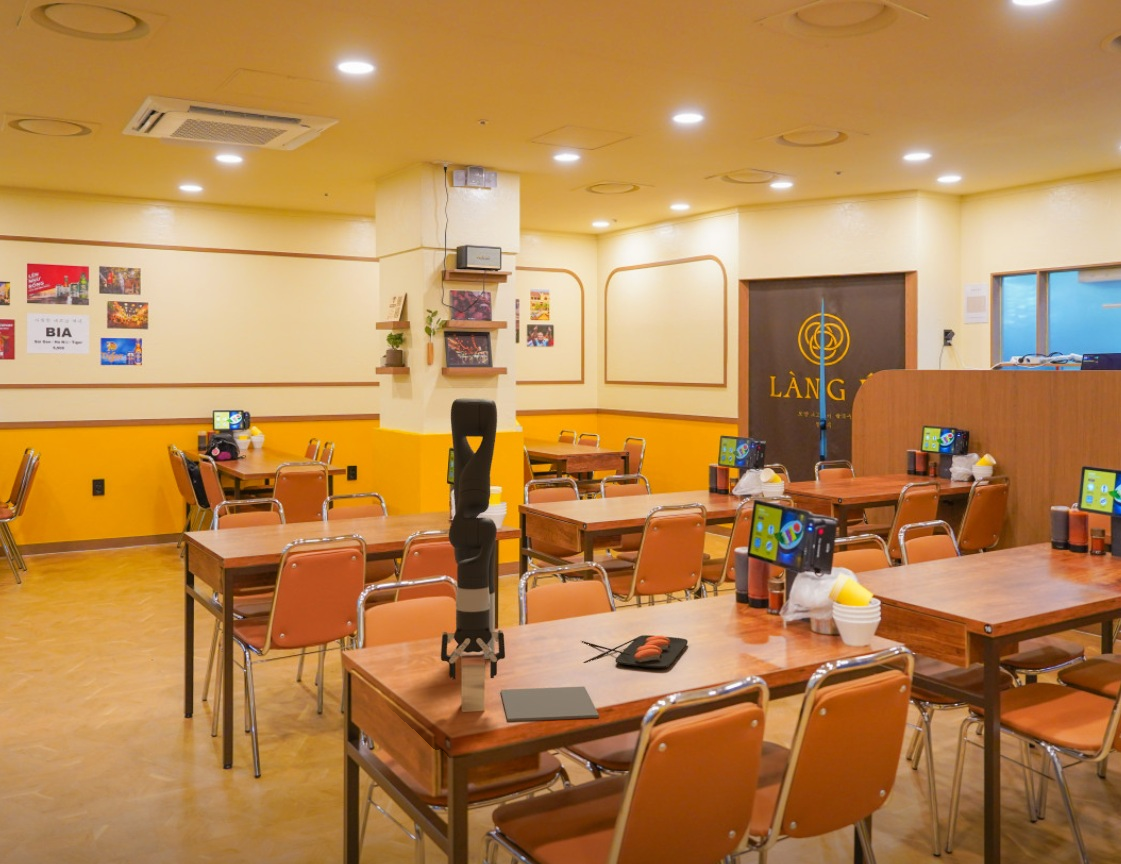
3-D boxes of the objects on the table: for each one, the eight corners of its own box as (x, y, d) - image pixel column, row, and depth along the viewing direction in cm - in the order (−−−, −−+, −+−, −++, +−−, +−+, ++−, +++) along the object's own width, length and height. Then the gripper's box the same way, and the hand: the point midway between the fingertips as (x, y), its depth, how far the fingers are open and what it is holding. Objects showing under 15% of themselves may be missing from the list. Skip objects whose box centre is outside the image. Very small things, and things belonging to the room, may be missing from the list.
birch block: (461, 704, 222) (461, 652, 221) (483, 703, 223) (483, 651, 222) (462, 711, 217) (462, 658, 216) (484, 710, 218) (484, 657, 217)
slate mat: (500, 692, 231) (500, 689, 231) (584, 688, 233) (584, 686, 233) (507, 721, 211) (507, 718, 211) (598, 717, 213) (598, 714, 213)
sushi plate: (667, 674, 247) (667, 659, 246) (555, 663, 256) (555, 648, 256) (690, 645, 274) (690, 632, 274) (588, 636, 284) (588, 623, 284)
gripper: (503, 602, 223) (503, 672, 224) (440, 603, 221) (440, 674, 222) (506, 609, 216) (505, 682, 216) (441, 611, 214) (441, 684, 214)
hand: (472, 678), depth 219 cm, fingers open, 8 cm apart
